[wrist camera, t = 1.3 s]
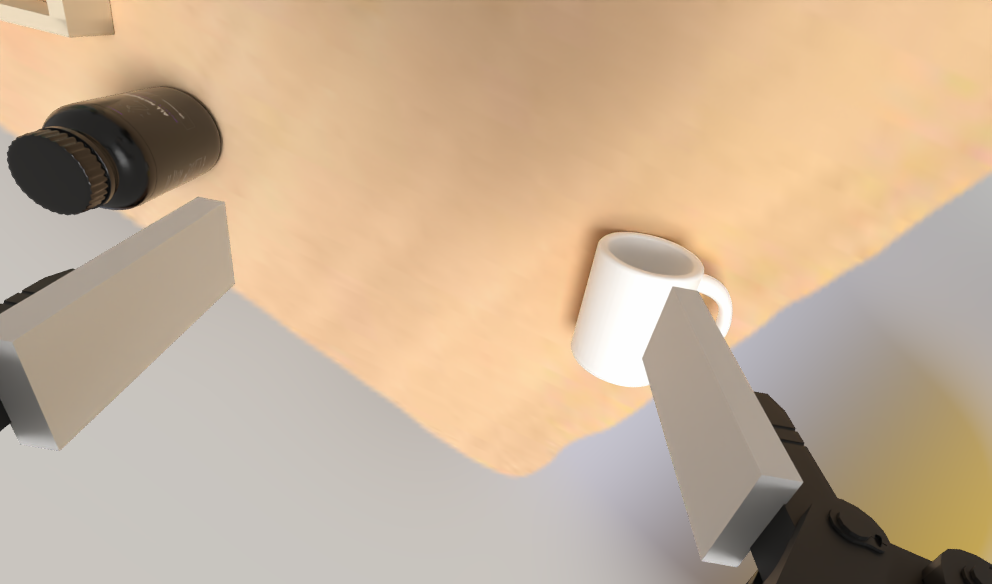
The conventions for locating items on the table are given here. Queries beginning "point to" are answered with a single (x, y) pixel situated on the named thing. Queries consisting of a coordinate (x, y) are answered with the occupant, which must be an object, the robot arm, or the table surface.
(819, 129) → the table surface
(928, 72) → the table surface
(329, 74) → the table surface
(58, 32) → the pitch
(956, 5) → the table surface
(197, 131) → the supplement bottle
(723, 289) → the mug
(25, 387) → the robot arm
